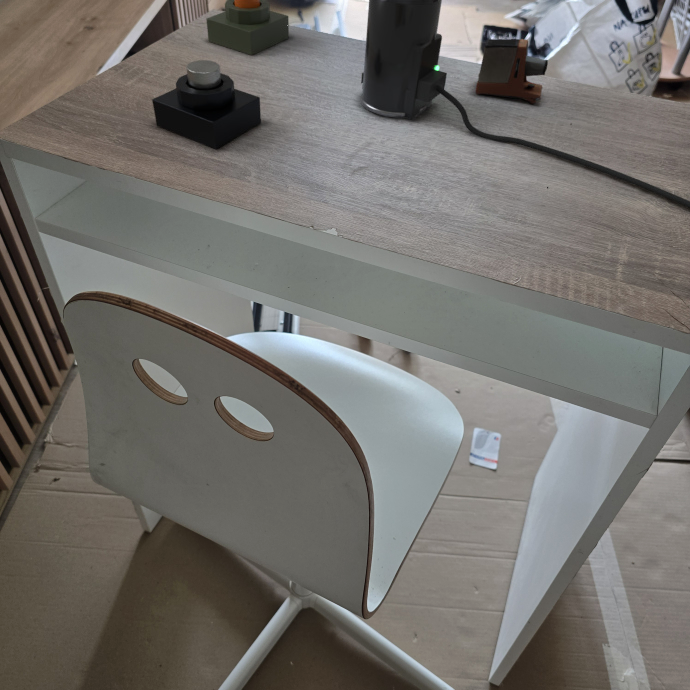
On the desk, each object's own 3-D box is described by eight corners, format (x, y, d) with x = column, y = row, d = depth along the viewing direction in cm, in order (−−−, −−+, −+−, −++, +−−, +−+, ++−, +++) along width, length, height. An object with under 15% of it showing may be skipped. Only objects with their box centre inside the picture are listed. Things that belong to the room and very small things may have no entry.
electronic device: (538, 105, 88) (553, 52, 83) (473, 95, 90) (484, 41, 84) (540, 94, 91) (555, 41, 86) (477, 84, 93) (487, 31, 87)
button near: (228, 84, 76) (226, 65, 74) (206, 95, 73) (204, 75, 71) (203, 76, 77) (201, 57, 75) (182, 86, 74) (179, 67, 73)
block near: (261, 123, 80) (259, 81, 76) (216, 149, 74) (211, 106, 70) (203, 102, 83) (198, 61, 79) (156, 125, 78) (149, 83, 74)
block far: (247, 25, 105) (244, -10, 101) (288, 38, 102) (288, 2, 98) (208, 41, 99) (204, 4, 95) (251, 55, 96) (249, 17, 92)
